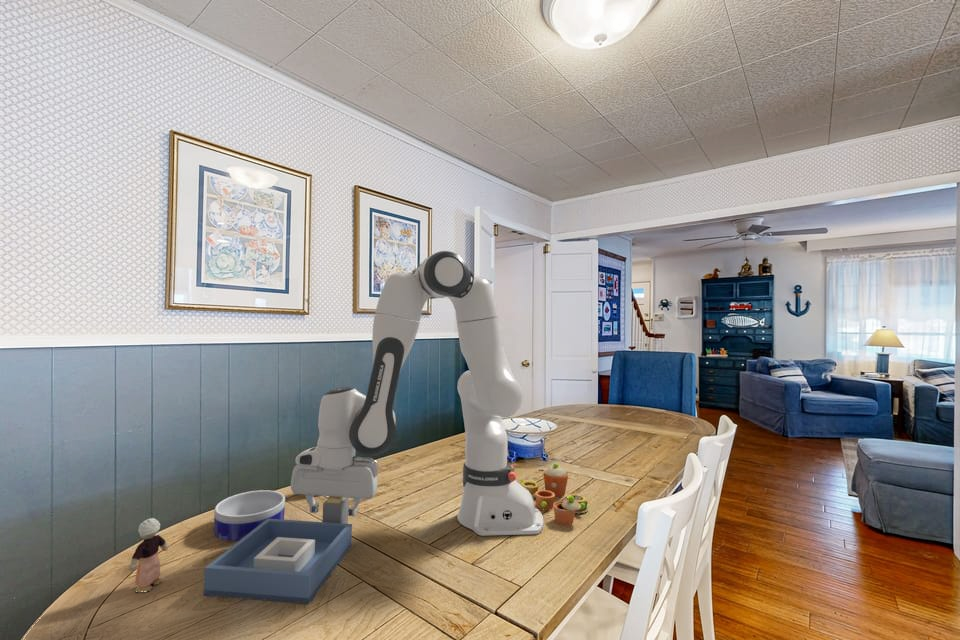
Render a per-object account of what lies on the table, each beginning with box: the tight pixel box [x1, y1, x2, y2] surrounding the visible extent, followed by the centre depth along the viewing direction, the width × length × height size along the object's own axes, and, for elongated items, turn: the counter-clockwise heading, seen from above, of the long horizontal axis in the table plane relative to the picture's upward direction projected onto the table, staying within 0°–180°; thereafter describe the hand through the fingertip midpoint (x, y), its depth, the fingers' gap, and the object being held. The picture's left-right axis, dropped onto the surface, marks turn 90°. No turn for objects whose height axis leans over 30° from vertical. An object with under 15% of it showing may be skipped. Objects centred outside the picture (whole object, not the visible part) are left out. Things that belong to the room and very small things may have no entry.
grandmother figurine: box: [128, 517, 169, 592], centre depth 80 cm, size 8×4×13 cm, turn 5°
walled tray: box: [203, 519, 353, 605], centre depth 87 cm, size 20×20×5 cm
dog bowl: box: [213, 489, 286, 542], centre depth 104 cm, size 15×15×6 cm
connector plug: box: [322, 496, 350, 524], centre depth 102 cm, size 4×4×9 cm
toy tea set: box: [520, 462, 589, 526], centre depth 122 cm, size 26×16×10 cm, turn 22°
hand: (333, 513), depth 101 cm, fingers open, 8 cm apart
